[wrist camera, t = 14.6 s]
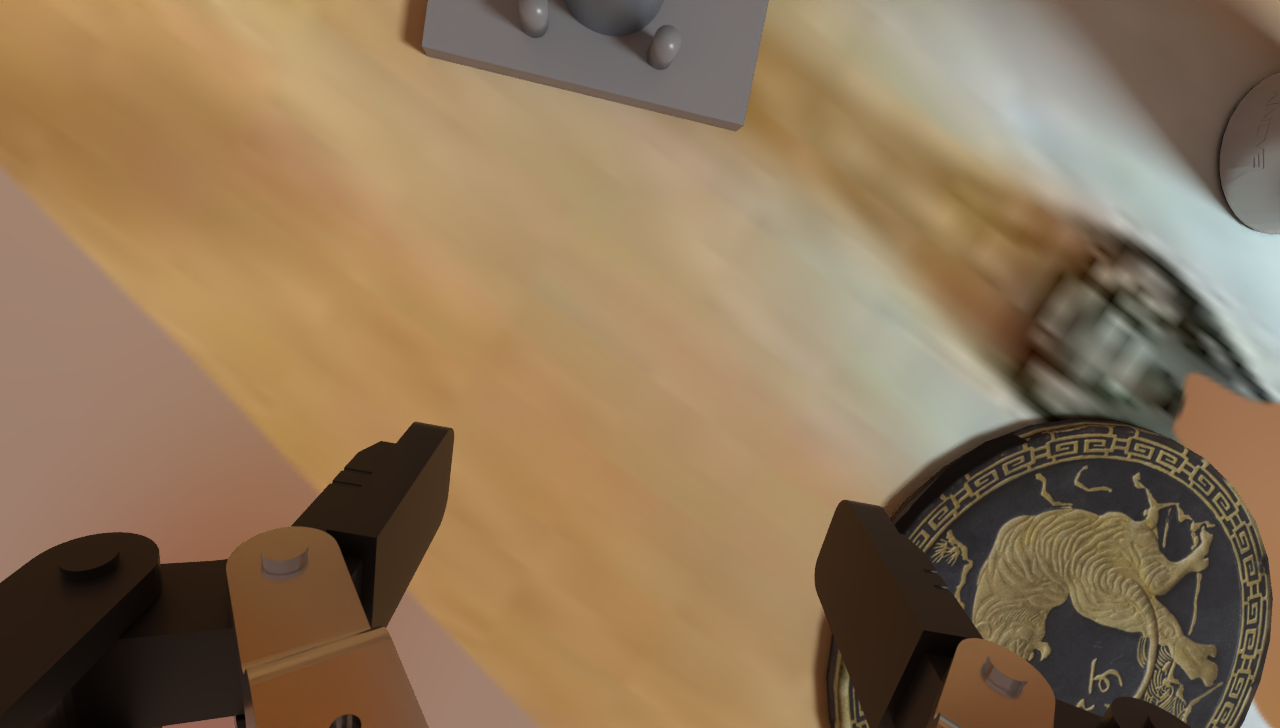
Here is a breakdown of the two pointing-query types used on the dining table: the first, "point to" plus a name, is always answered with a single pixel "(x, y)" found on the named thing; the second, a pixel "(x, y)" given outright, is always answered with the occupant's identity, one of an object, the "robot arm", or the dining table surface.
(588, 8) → the grey dome-topped cylinder
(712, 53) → the dish rack
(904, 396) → the dining table surface
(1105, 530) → the decorative plate
